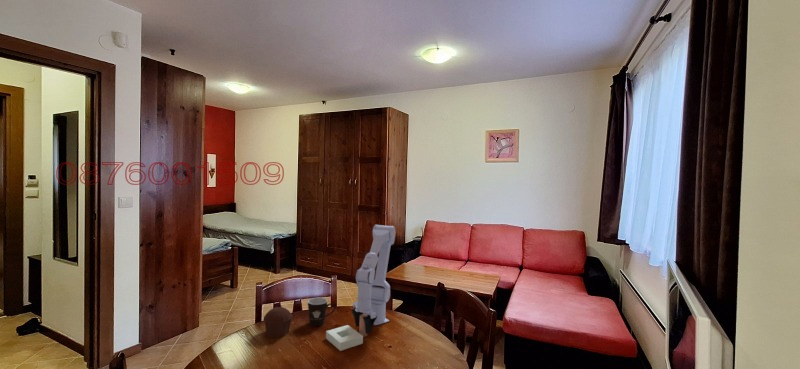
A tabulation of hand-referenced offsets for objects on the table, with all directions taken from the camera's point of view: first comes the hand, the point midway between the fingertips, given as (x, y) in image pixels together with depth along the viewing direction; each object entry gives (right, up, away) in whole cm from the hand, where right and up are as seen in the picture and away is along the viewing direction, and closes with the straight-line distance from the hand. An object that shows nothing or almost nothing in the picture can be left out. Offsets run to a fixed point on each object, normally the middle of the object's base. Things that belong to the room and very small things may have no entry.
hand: (363, 329), depth 136 cm
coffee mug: (-20, -2, +9) cm, 22 cm away
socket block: (-7, -2, -6) cm, 9 cm away
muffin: (-36, -1, -1) cm, 36 cm away
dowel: (0, -2, 0) cm, 2 cm away
